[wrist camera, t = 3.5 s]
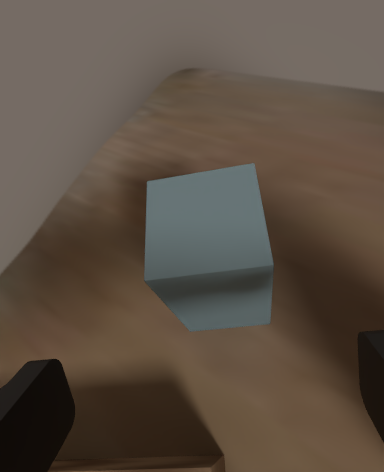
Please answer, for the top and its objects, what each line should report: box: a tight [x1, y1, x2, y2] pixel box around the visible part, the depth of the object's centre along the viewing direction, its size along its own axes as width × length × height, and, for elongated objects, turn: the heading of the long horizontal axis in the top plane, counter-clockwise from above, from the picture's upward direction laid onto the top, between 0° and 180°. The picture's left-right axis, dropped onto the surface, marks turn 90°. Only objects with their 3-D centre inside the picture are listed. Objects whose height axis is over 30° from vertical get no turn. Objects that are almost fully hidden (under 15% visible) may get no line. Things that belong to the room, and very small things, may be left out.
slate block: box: [144, 163, 274, 332], centre depth 17 cm, size 5×5×9 cm
